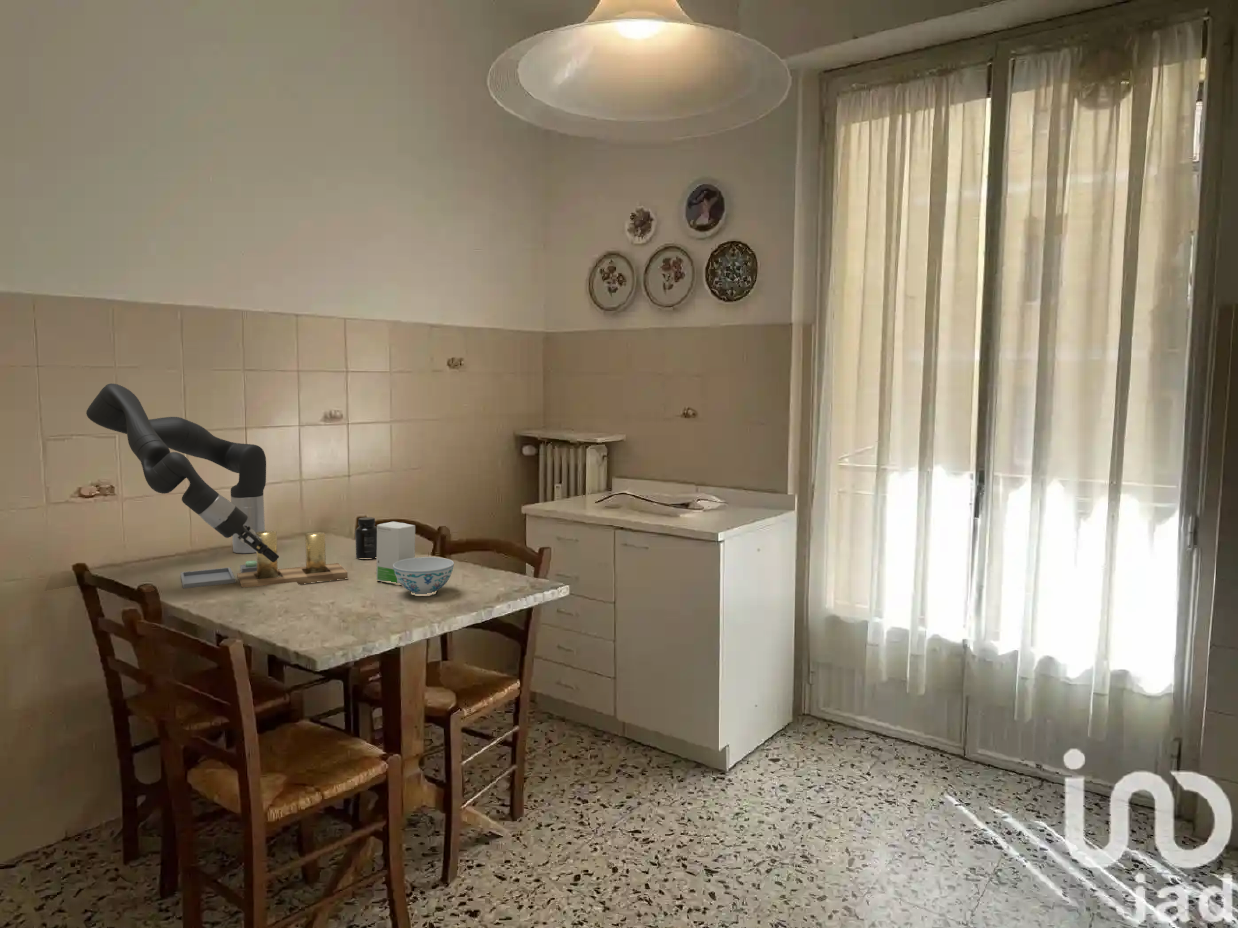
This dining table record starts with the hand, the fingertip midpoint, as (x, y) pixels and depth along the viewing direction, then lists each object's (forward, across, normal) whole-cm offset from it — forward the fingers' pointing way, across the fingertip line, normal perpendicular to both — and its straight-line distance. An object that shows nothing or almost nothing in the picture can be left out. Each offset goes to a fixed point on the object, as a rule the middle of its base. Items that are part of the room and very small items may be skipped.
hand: (274, 557), depth 217 cm
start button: (0, -11, -6) cm, 13 cm away
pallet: (+8, 0, -2) cm, 8 cm away
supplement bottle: (+25, -18, +15) cm, 34 cm away
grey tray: (-6, -7, -16) cm, 18 cm away
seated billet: (+12, 0, +3) cm, 12 cm away
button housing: (+1, -11, -8) cm, 14 cm away
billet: (+2, 0, -5) cm, 5 cm away
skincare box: (+25, +14, +15) cm, 32 cm away
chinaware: (+27, +29, +17) cm, 43 cm away
